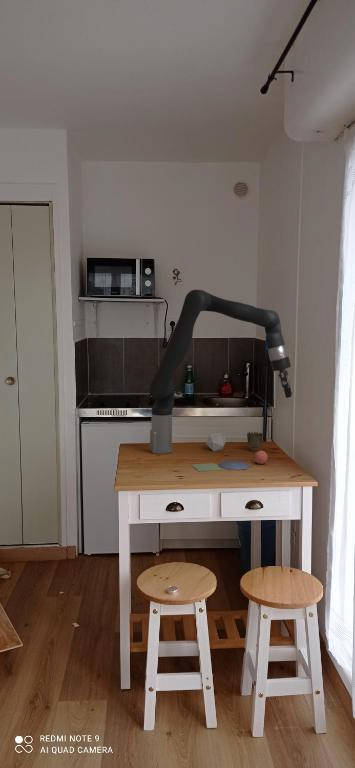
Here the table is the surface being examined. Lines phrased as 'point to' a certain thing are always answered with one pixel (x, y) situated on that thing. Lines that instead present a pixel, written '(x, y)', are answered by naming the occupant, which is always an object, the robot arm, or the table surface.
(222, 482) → the table surface
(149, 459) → the table surface
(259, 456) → the ball
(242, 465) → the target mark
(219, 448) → the die
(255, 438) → the cup
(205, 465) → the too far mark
